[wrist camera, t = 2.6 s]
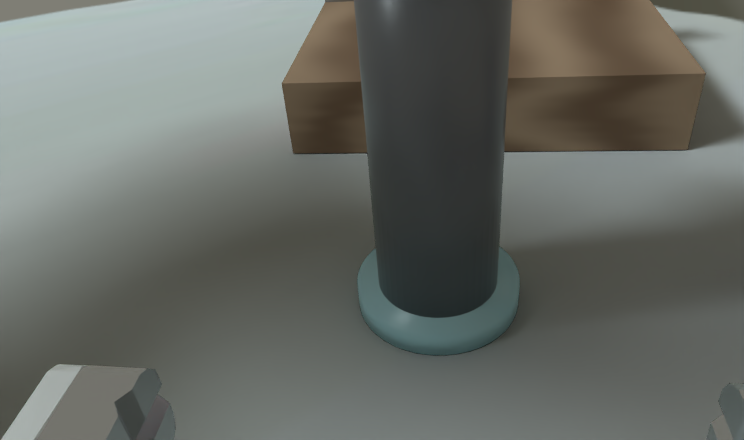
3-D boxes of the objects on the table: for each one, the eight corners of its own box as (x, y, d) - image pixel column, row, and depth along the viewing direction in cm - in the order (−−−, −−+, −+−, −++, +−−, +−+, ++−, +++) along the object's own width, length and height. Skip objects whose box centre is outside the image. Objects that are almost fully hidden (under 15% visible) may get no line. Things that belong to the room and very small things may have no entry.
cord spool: (349, 352, 23) (288, -104, 14) (368, 246, 27) (332, -140, 19) (524, 358, 22) (569, -122, 13) (512, 248, 27) (540, -155, 18)
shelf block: (293, 153, 34) (275, 44, 31) (334, 54, 46) (324, -34, 42) (687, 149, 32) (716, 30, 28) (627, 46, 43) (643, -49, 40)
